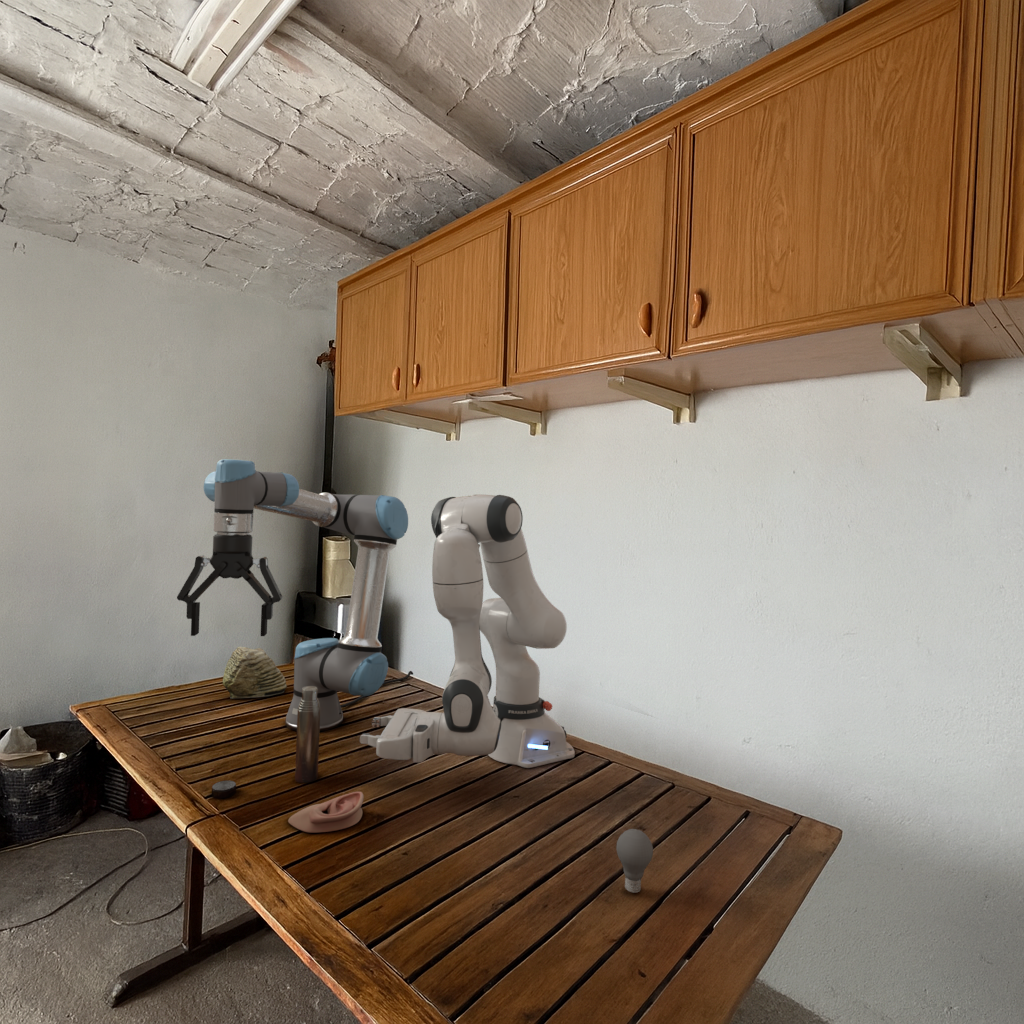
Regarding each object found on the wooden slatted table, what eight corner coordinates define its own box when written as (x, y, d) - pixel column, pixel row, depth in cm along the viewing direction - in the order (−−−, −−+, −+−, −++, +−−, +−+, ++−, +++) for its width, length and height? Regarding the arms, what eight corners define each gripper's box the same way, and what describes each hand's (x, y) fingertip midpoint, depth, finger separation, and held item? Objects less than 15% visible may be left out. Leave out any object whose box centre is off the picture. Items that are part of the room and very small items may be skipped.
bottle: (292, 775, 143) (296, 686, 143) (314, 771, 146) (318, 684, 145) (297, 784, 139) (301, 692, 138) (320, 780, 141) (323, 689, 141)
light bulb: (610, 879, 108) (613, 822, 108) (644, 879, 109) (647, 822, 109) (619, 902, 102) (622, 840, 102) (655, 901, 103) (658, 840, 103)
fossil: (218, 695, 195) (220, 647, 195) (278, 685, 208) (279, 640, 207) (228, 703, 189) (230, 653, 188) (289, 692, 201) (290, 645, 201)
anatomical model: (280, 807, 120) (311, 781, 131) (279, 828, 120) (310, 800, 131) (344, 817, 117) (370, 790, 129) (343, 838, 118) (370, 809, 129)
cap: (210, 800, 130) (210, 791, 130) (213, 789, 135) (213, 781, 135) (234, 797, 132) (234, 789, 132) (236, 787, 136) (237, 779, 136)
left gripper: (162, 532, 126) (158, 638, 127) (292, 536, 131) (288, 638, 131) (175, 530, 134) (171, 630, 134) (298, 534, 138) (294, 631, 139)
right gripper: (436, 702, 151) (379, 700, 152) (419, 736, 131) (353, 733, 132) (435, 728, 152) (378, 726, 152) (418, 766, 131) (352, 763, 132)
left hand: (229, 634), depth 133 cm, fingers open, 13 cm apart
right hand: (366, 729), depth 142 cm, fingers open, 8 cm apart
